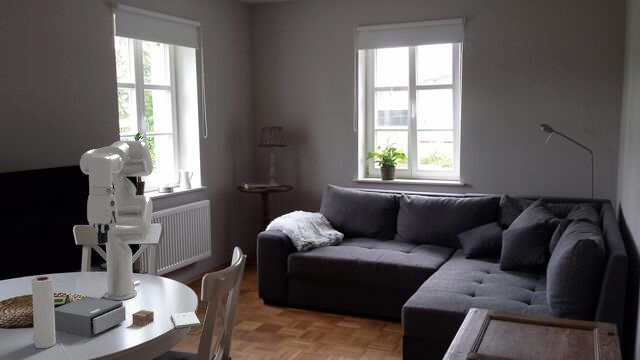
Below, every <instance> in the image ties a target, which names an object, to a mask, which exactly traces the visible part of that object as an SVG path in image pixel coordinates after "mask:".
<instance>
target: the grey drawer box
mask: <svg viewBox="0 0 640 360" xmlns="http://www.w3.org/2000/svg"><path fill="white" fill-rule="evenodd" d="M122 306H124V305H123V301H119V300H108V299H105V298H100V297H99V298H98V297H93V296H84V297H82V298H80V299H77V300H73V301H70V302H68V303H66V304H63V305H60V306H58V307H54V312H55V332H60V333H63V334H70V335H74V336H80V337H85V338H92V337H93V336H95V335H98V334H100V333H101V332H104V331H106V330H109V329H111V328H113V327H115V326H117V325H120V323H118V324H116V325H114V326H112V327H110V328H108V329H105V330H103V331H101V332H99V333H97V334H95V333H91V319H90V318H92V317H94V316H97V315H99V314H101V313H104V314H106V313H108V312H111V311H113V310H115V309H118V308H120V307H122Z"/></svg>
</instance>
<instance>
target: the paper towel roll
mask: <svg viewBox="0 0 640 360" xmlns="http://www.w3.org/2000/svg"><path fill="white" fill-rule="evenodd" d="M31 292H32V293H31V294H32V314H33V315H32V316H33V317H32V318H33V338H34V347H35V348H36V349H49V348H51V347H53V346H56V344H57V342H56V341H57V340H56V331H55V312H54V309H55V293H54V292H55V290H54V277H53V276H45V275H44V276H43V275H42V276H40V275H39V276H38V275H35V277H34V278H32V279H31Z"/></svg>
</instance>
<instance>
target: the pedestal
mask: <svg viewBox="0 0 640 360" xmlns="http://www.w3.org/2000/svg"><path fill="white" fill-rule="evenodd" d="M154 313H155V312H154V311H151V310H144V309H141V310H138V311H136V312H134V313H132V315H131V316H132V317H131V318H132V325H135V324H136V325H135V326H141V325H143V326H142V327H146V326H147V324H148V325H150V324H152V323H154V322H155V317H154V316H155V314H154ZM153 321H154V322H153ZM151 322H152V323H151ZM149 323H150V324H149ZM145 325H146V326H145Z"/></svg>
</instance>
